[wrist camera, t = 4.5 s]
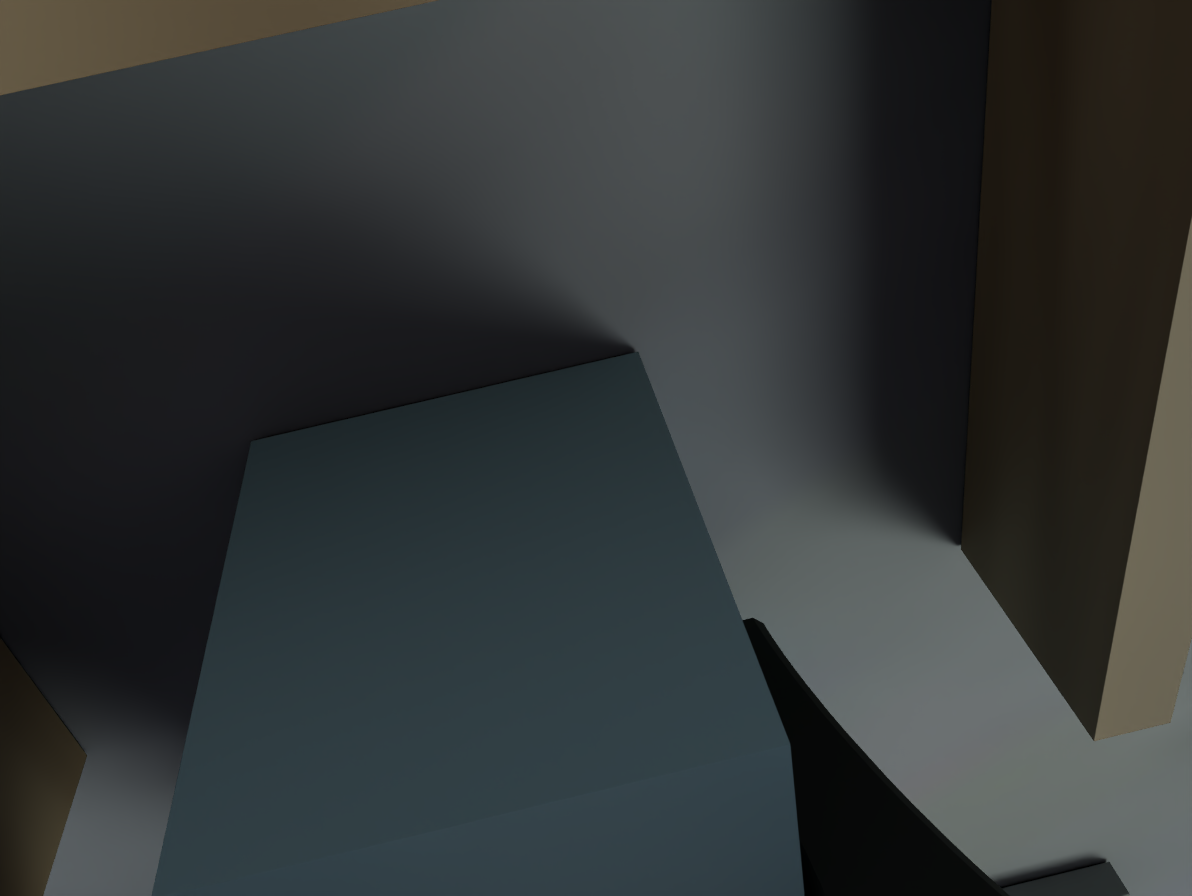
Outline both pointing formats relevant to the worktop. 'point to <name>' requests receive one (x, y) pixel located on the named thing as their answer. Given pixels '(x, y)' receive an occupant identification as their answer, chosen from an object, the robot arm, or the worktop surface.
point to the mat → (1074, 884)
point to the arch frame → (999, 352)
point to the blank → (481, 666)
